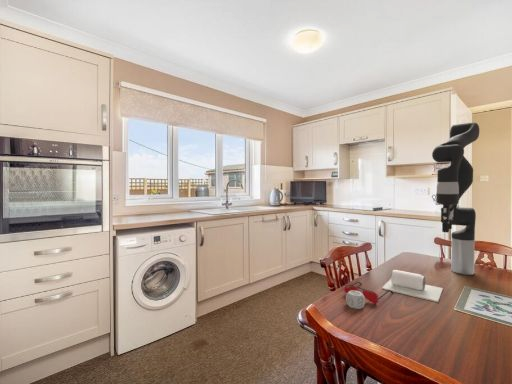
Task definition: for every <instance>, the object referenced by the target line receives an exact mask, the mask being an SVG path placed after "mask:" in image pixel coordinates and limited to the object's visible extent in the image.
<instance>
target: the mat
mask: <svg viewBox="0 0 512 384" xmlns="http://www.w3.org/2000/svg"><path fill="white" fill-rule="evenodd" d="M381 289H382V290H385V291H388V290H391V291H392V292H393V293H398V294H401V295H406V296H409V297H414V298H418V299H422V300H427V301H430V302H434V303H439V301H440V298H441V296H442V294H443V293H442V292H443V290H444V288H443V287H439V286H434V285H431V284H430V285H429V284H425V289H424V290H416V289H412V288H407V287H403V286H399V285H394V284H393V283H392V282H391V278H390V279H389V280H388V281H387V282H386V283H385V284H383V286H382V287H381Z"/></svg>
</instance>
